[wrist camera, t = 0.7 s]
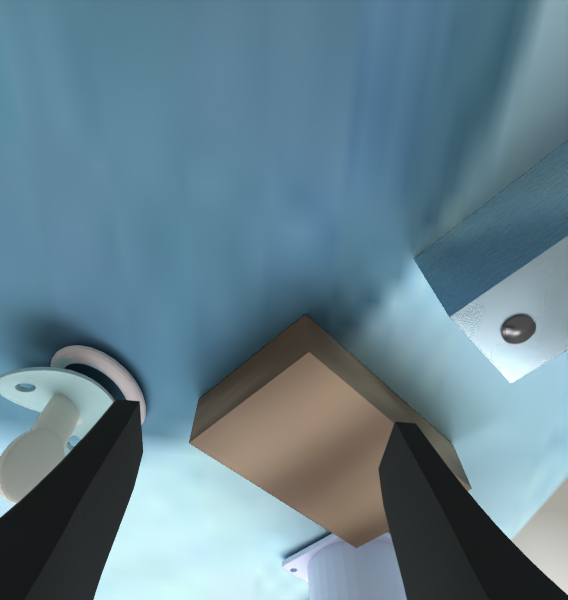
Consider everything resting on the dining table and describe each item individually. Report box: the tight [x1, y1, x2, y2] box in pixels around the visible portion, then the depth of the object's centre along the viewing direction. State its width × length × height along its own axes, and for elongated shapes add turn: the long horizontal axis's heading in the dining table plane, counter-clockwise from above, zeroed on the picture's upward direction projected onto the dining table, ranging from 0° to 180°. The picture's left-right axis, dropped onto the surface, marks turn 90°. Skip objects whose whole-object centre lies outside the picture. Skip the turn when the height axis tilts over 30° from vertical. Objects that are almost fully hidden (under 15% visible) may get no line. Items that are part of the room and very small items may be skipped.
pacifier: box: [0, 345, 146, 504], centre depth 21 cm, size 7×6×6 cm
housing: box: [414, 140, 568, 383], centre depth 17 cm, size 4×9×5 cm, turn 134°
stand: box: [189, 314, 472, 548], centre depth 24 cm, size 13×8×3 cm, turn 44°
